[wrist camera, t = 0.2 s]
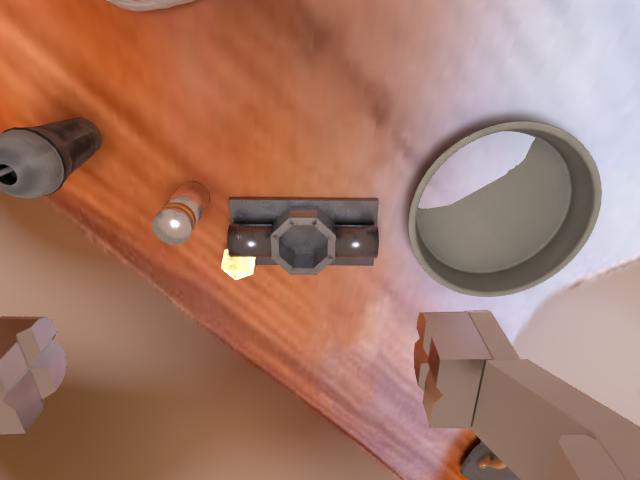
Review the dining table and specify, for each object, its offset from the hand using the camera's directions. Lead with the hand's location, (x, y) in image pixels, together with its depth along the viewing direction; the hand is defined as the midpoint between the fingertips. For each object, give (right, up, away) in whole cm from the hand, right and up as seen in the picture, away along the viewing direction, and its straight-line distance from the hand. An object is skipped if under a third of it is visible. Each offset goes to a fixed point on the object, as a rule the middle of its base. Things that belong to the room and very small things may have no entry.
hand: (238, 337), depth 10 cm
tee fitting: (0, +3, +51) cm, 52 cm away
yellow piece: (-9, -1, +52) cm, 53 cm away
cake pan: (+26, +7, +50) cm, 57 cm away
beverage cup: (-28, +15, +45) cm, 56 cm away
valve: (-15, +8, +49) cm, 52 cm away
